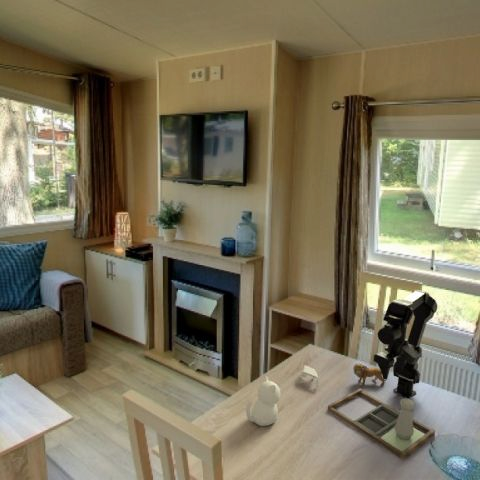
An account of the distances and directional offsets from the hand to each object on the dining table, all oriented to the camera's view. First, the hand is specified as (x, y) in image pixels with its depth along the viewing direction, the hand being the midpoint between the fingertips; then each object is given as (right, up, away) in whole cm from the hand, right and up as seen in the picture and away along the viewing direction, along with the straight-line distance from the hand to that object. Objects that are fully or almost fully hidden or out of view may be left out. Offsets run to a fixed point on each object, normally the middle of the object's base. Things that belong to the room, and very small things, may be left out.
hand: (392, 375), depth 145 cm
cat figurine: (-48, -14, -7) cm, 50 cm away
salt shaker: (-2, -16, -13) cm, 21 cm away
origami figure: (-27, -9, +17) cm, 34 cm away
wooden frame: (-7, -14, -6) cm, 17 cm away
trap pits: (-7, -14, -6) cm, 17 cm away
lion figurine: (-3, -10, +18) cm, 21 cm away
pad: (-2, -16, -14) cm, 21 cm away
